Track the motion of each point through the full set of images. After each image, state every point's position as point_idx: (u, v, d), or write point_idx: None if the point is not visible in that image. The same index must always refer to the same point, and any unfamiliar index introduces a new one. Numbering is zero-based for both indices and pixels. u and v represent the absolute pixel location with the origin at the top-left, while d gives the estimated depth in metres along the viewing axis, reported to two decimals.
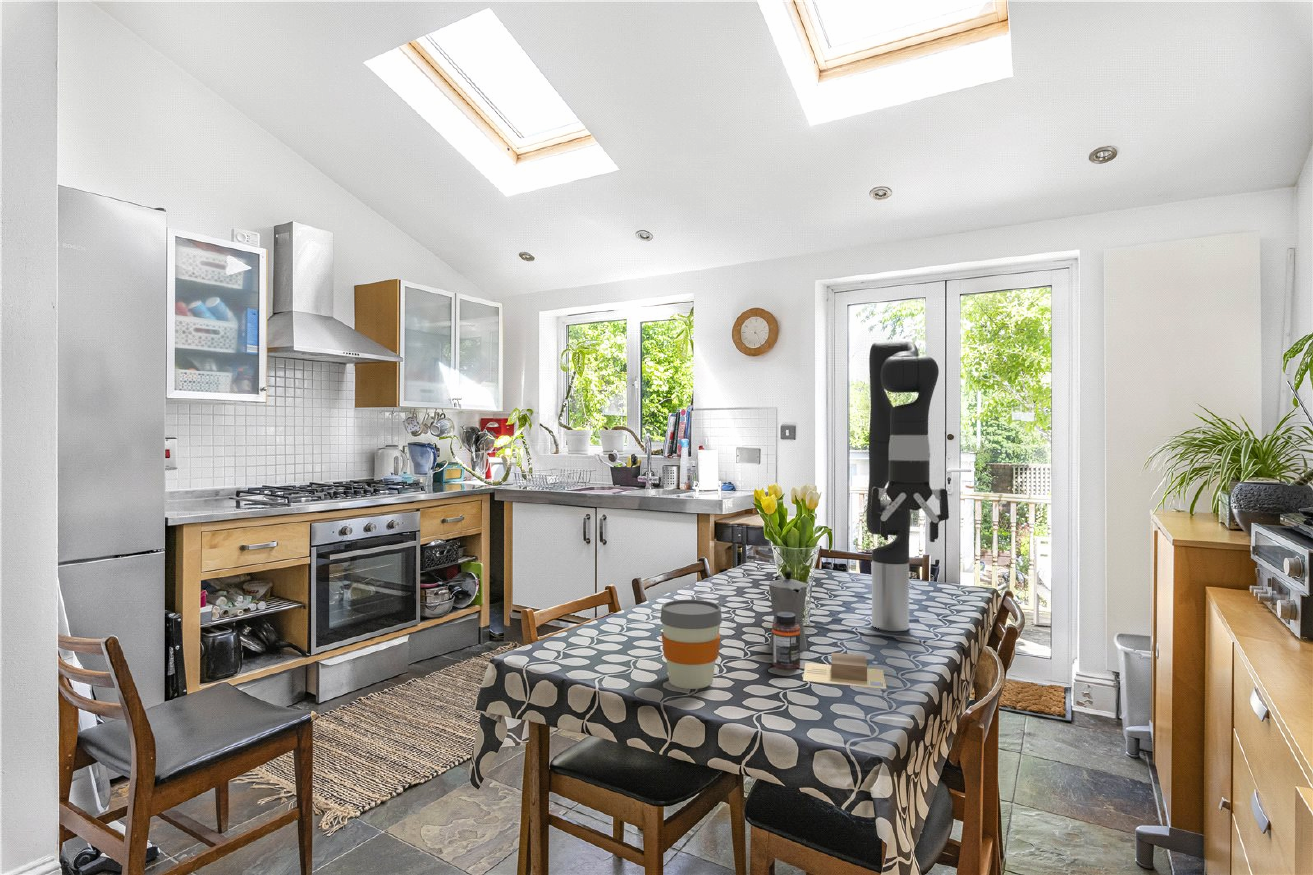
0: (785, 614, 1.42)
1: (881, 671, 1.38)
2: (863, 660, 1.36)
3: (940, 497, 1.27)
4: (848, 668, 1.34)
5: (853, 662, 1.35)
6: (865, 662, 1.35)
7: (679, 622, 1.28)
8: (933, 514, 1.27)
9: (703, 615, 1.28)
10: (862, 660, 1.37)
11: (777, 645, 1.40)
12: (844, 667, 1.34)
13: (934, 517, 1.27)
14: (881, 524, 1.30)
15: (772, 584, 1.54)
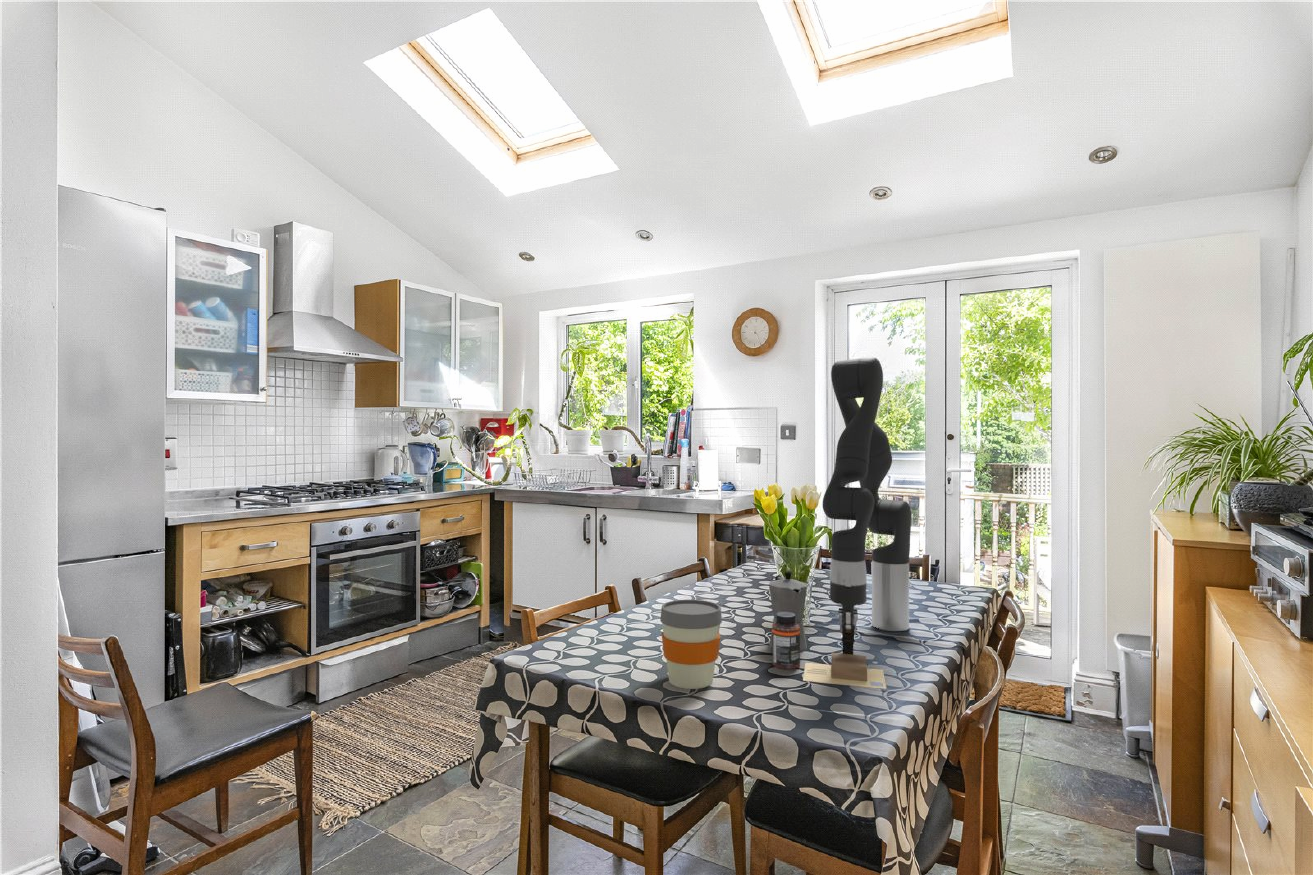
0: (785, 614, 1.42)
1: (881, 671, 1.38)
2: (863, 660, 1.36)
3: None
4: (848, 668, 1.34)
5: (853, 662, 1.35)
6: (865, 662, 1.35)
7: (679, 622, 1.28)
8: None
9: (703, 615, 1.28)
10: (862, 660, 1.37)
11: (777, 645, 1.41)
12: (844, 667, 1.34)
13: None
14: (851, 647, 1.41)
15: (772, 584, 1.54)
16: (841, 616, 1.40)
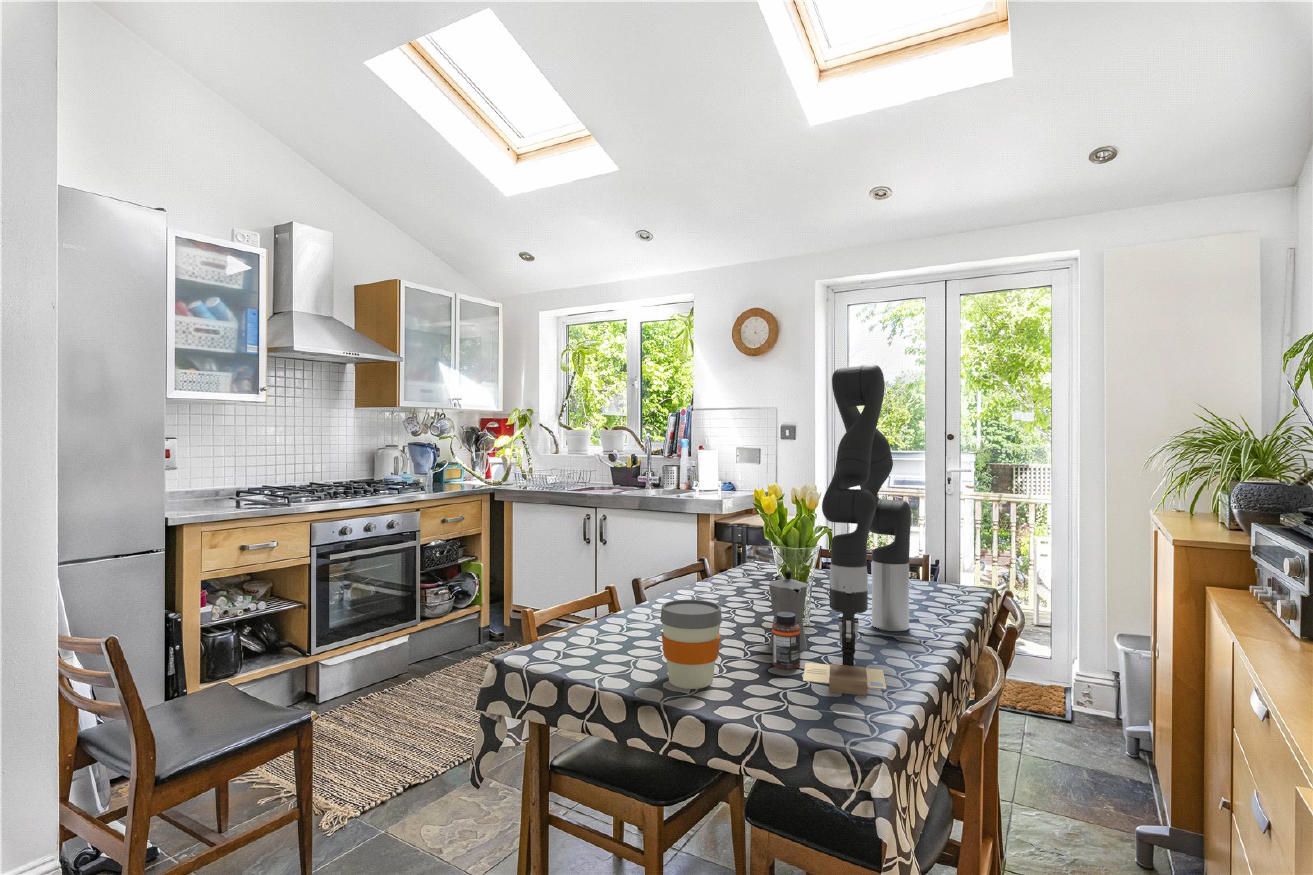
0: (785, 614, 1.42)
1: (881, 671, 1.38)
2: (863, 673, 1.29)
3: None
4: (847, 683, 1.26)
5: (852, 676, 1.28)
6: (865, 676, 1.28)
7: (679, 622, 1.28)
8: None
9: (703, 615, 1.28)
10: (862, 673, 1.29)
11: (777, 645, 1.41)
12: (843, 682, 1.26)
13: None
14: (851, 658, 1.33)
15: (772, 584, 1.54)
16: (841, 625, 1.33)
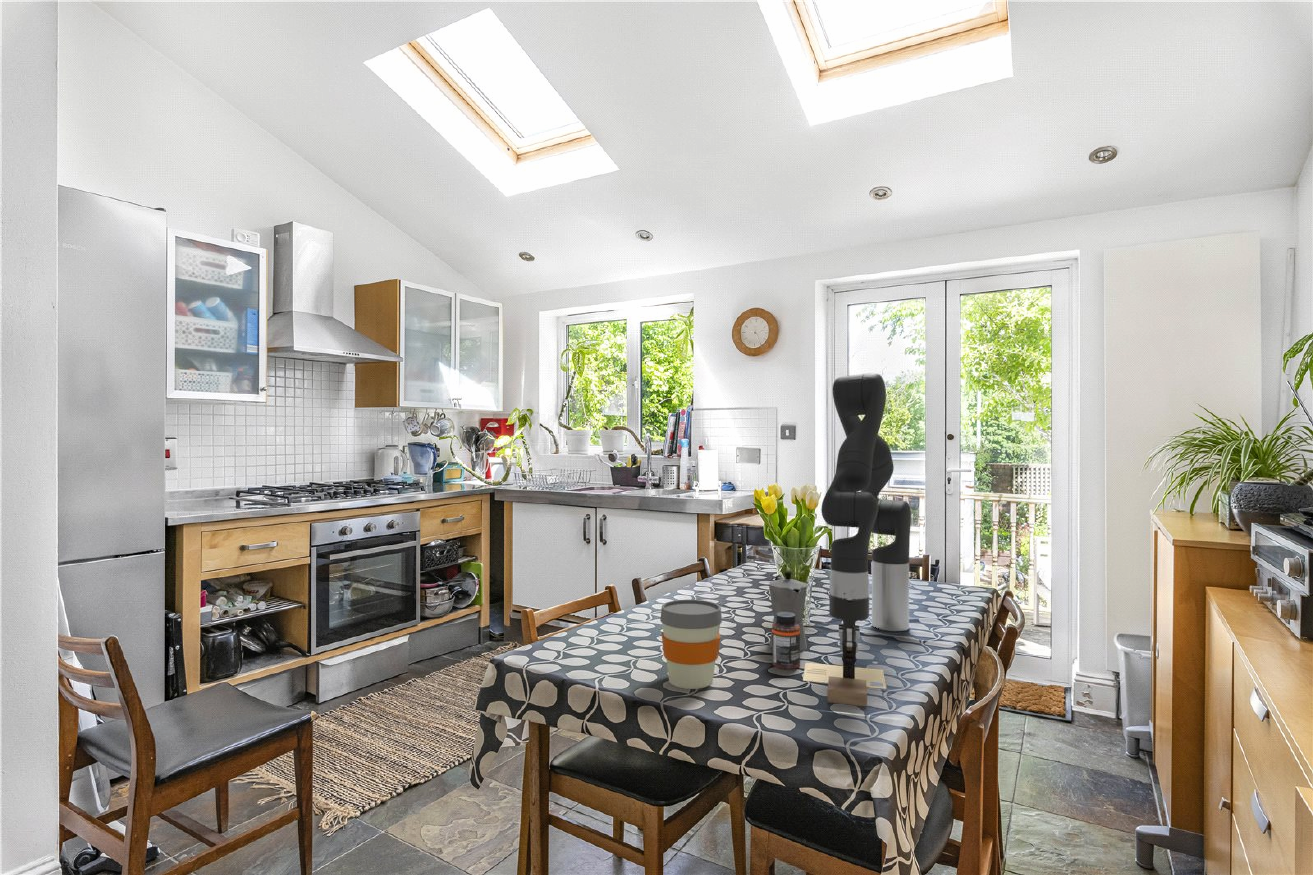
0: (785, 614, 1.42)
1: (881, 671, 1.38)
2: (862, 685, 1.24)
3: None
4: (846, 695, 1.21)
5: (851, 687, 1.23)
6: (865, 688, 1.23)
7: (679, 622, 1.28)
8: None
9: (703, 615, 1.28)
10: (862, 685, 1.24)
11: (777, 645, 1.40)
12: (842, 694, 1.22)
13: None
14: (852, 667, 1.28)
15: (772, 584, 1.54)
16: (841, 633, 1.28)
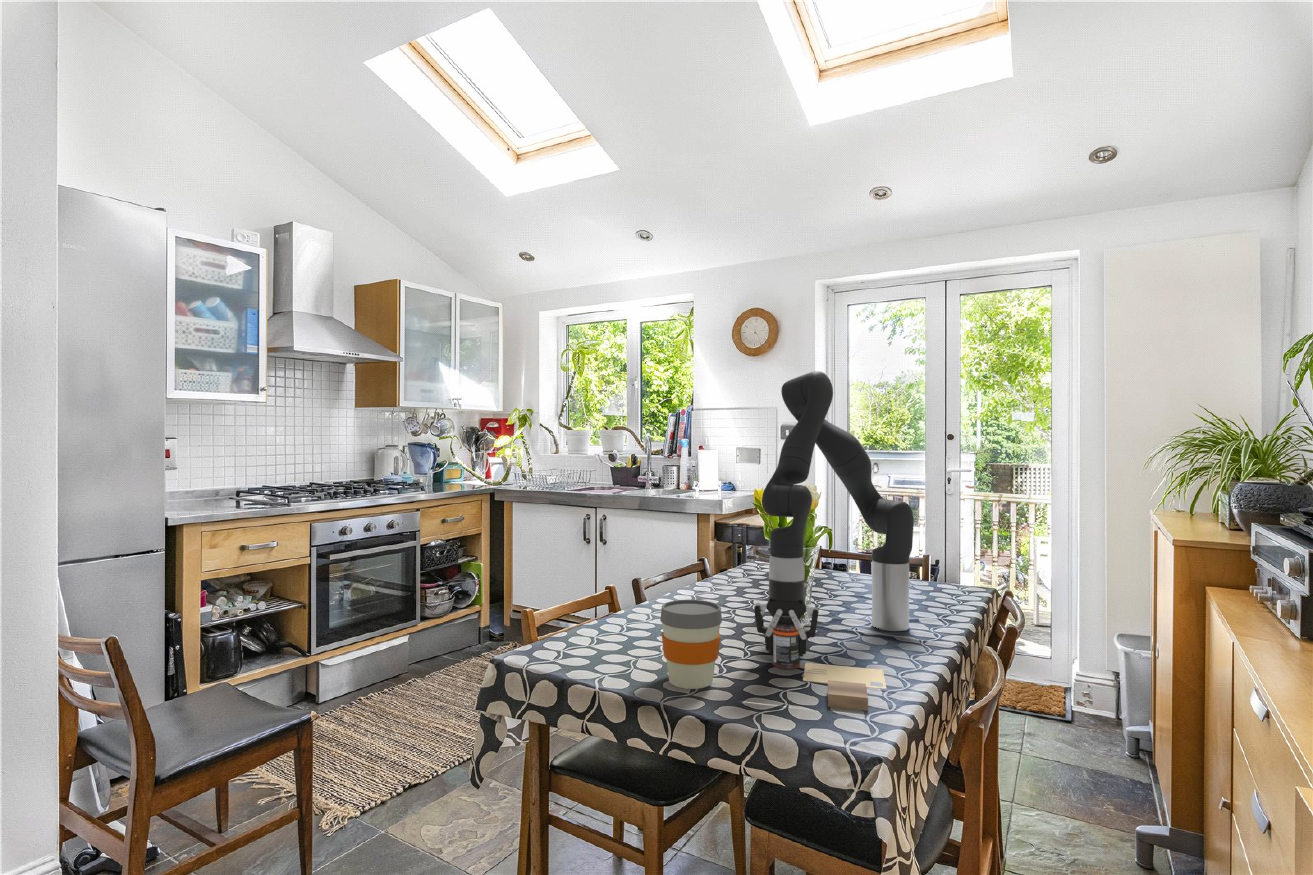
0: None
1: (881, 671, 1.38)
2: (863, 689, 1.22)
3: None
4: (847, 700, 1.19)
5: (852, 692, 1.21)
6: (865, 692, 1.21)
7: (679, 622, 1.28)
8: None
9: (703, 615, 1.28)
10: (862, 689, 1.22)
11: (777, 645, 1.41)
12: (843, 699, 1.19)
13: None
14: None
15: None
16: (794, 612, 1.40)
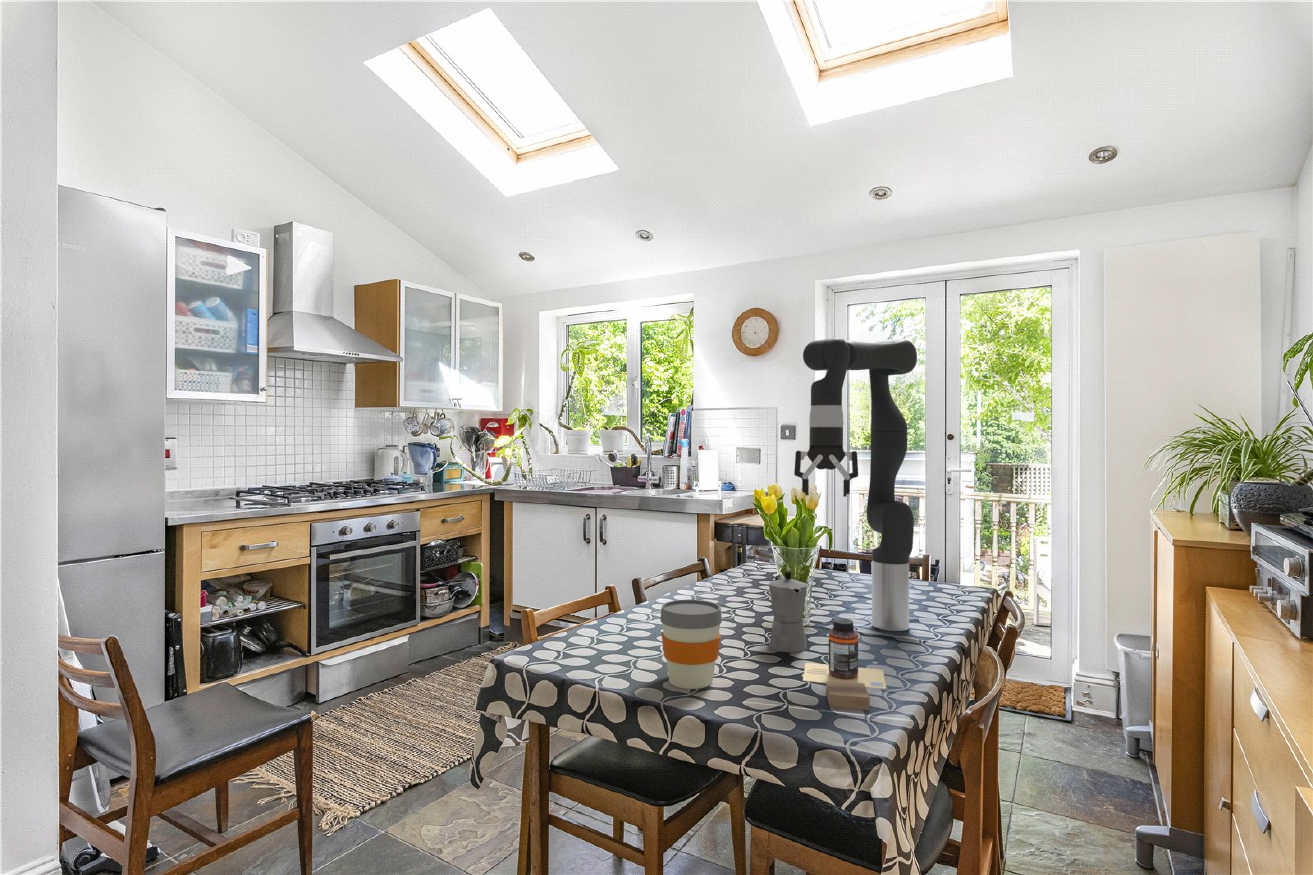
0: (842, 620, 1.36)
1: (881, 671, 1.38)
2: (862, 689, 1.22)
3: None
4: (848, 700, 1.19)
5: (852, 692, 1.21)
6: (866, 692, 1.21)
7: (679, 622, 1.28)
8: None
9: (703, 615, 1.28)
10: (861, 688, 1.23)
11: (834, 653, 1.34)
12: (844, 699, 1.19)
13: None
14: None
15: (772, 584, 1.54)
16: (834, 456, 1.50)
